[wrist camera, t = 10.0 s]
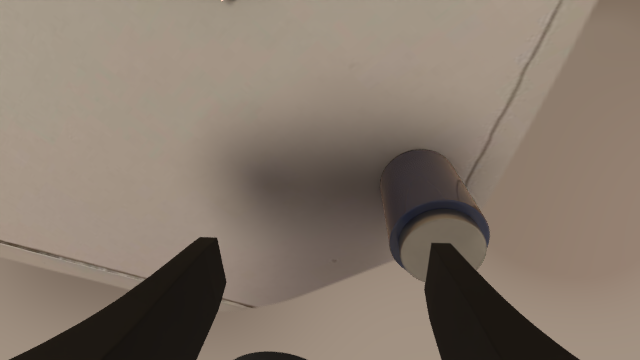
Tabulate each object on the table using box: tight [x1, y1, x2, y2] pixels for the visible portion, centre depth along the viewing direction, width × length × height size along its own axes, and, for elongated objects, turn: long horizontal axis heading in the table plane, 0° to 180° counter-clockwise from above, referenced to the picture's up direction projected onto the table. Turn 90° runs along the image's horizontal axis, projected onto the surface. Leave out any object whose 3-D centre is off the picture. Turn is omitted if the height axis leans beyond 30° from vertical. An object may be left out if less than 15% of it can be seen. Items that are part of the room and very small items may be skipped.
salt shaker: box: [380, 150, 490, 282], centre depth 18 cm, size 4×4×6 cm
